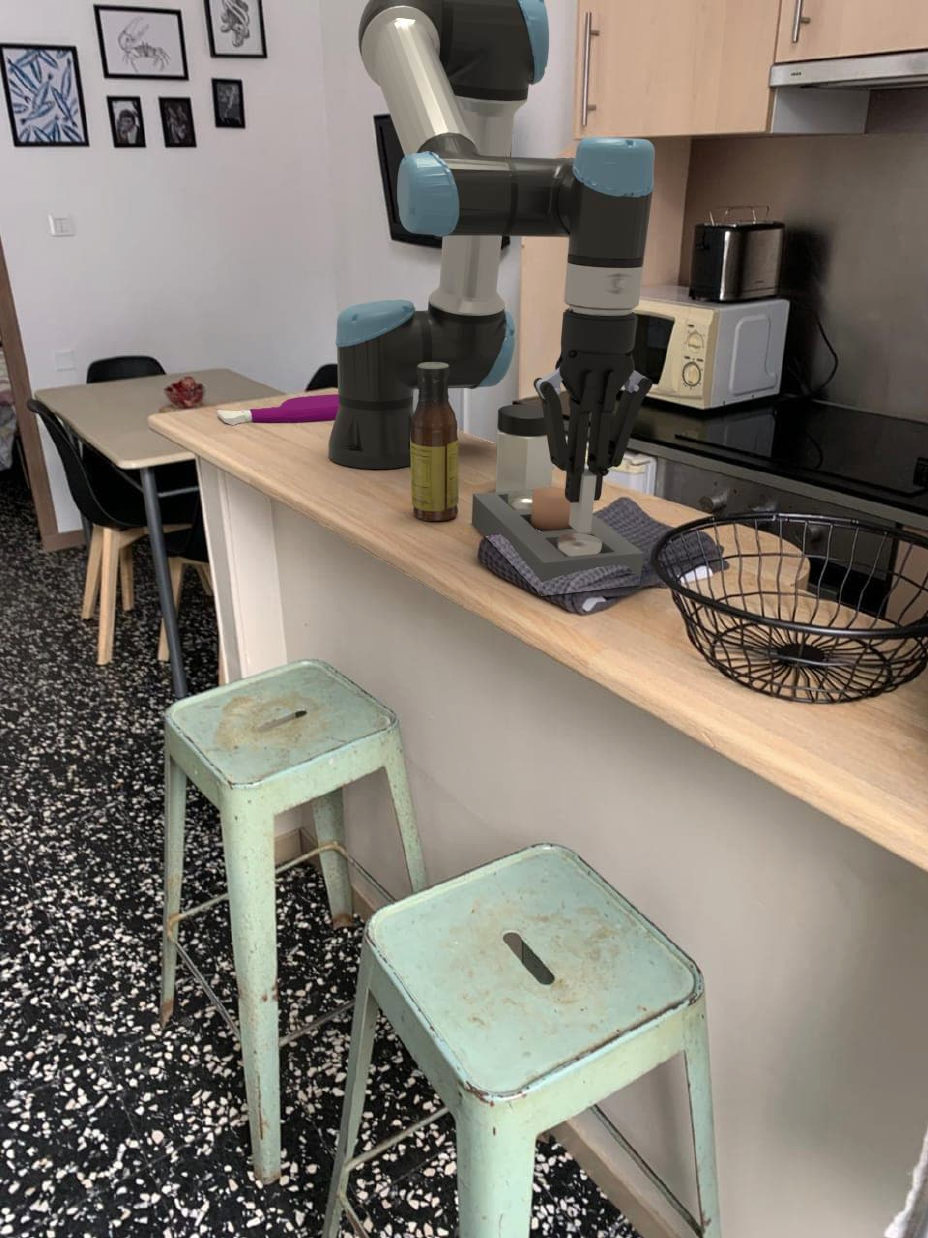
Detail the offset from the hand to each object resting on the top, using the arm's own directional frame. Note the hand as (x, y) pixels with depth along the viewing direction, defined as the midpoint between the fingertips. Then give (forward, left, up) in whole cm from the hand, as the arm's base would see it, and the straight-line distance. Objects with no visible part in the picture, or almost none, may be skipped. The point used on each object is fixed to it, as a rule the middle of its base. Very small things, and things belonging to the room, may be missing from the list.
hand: (579, 527), depth 105 cm
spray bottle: (-81, -21, -7) cm, 84 cm away
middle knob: (-8, 0, -2) cm, 8 cm away
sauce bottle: (-24, -10, -6) cm, 26 cm away
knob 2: (0, 0, -5) cm, 5 cm away
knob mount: (-8, 0, -6) cm, 10 cm away
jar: (-30, +5, -6) cm, 31 cm away
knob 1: (-16, 0, -6) cm, 17 cm away
